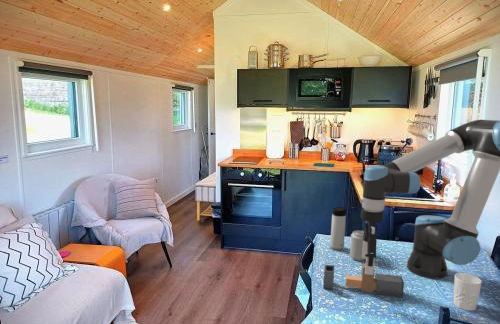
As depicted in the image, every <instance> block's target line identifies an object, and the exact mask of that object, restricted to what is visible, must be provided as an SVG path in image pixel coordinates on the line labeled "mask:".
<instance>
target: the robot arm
mask: <svg viewBox="0 0 500 324" xmlns="http://www.w3.org/2000/svg"><path fill="white" fill-rule="evenodd" d="M470 150H471V153H472V154H473V156H474V159H473V161H472V164H471V167H470V169H469V171H468V174H467V176H466V179H465V181H464V184H463V187H462V189H461V191H460V194H459V196H458V198H457V201H456V204H455V205H454V208H453V211H452V212H451V215H450V217H448V218H447V217H444V216H440V215H418V216H417V217H416V218H415V223H414V234H413V245H412V247H413V248H412V251H411V253H410V255H409V257H408V258H407V261H406V268H407V269H408V270H409V272H412V274H415V275H417V276H421V277H423V278H428V279H429V278H430V279H443V278H445V277H447V276H448V265H447V261H448V262H451V264H454V265H457V266H464V265H468V264H470V263H472V262H474V261H475V260H476V259H477V258H478V256H479V254H480V252H481V244H480V242H479V240H478V236H479V233H480V232H479V230H478V229H477V225H478V223H479V221H480V218H481V216H482V214H483V211H484V208H485V206H486V204H487V202H488V199H489V197H490V195H491V193H492V190H493V187H494V185H495V182H496V180H497V178H498V175H499V174H500V120H498V119H495V120H493V119H476V120H472V121H469V122H466V123H463V124H461V125H458V126H457V127H455V128H452V129H450V130H448V131H447V132H446V133H445V135H444V136H442V137H440V138H437V139H435V140H434V141H431V142H430V143H427V144H426V145H423V146H421V147H419V148H417V149H414V150H412V151H411V152H409V153H406V154H405V155H402V156H400V157H398V158H396V159H394V160H392V161H390V162H387V163H385V164H375V165H372V164H371V165H368V166H366V167H365V170H364V176H363V189H362V198H361V199H360V202H361V211H360V219H361V220H363V222H365V223H364V229H363V231H364V234H363V240H364V241H363V251H362V258H364V259H365V264H366V267H365V274H369V275H373V273H374V268H375V261H376V259H377V240H378V239H377V236H378V226H377V223H380V224H381V223H382V222H383V220H384V212H385V211H384V210H385V206H386V205H385V203H386V194H406V195H408V194H416V193H418V192H419V190H420V188H421V177H420V176H419V174H417V171H419V170H423V168H425V167H426V168H427V166H430V165H432V164H434V163H436V162H438V161H440V160H442V159H444V158H446V157H449V156H451V155H453V154H455V153H456V154H462V153H464V152H467V151H470ZM374 274H375V273H374Z"/></svg>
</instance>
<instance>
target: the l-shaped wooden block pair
mask: <svg viewBox="0 0 500 324" xmlns="http://www.w3.org/2000/svg"><path fill="white" fill-rule="evenodd" d="M365 267H366V262H365V263H364V262H363V263H361V273H360V274H361V275H360V276H357V275H356V276H355V275H349V274H348V275H347V274H346V275H345V287H347V288H355V289H360V290H361V292H366V293H374V291H375V290H376V285H377V279H375V273H376V272H375V271H376V269H375V267H374V273H373V275H369V274H365Z"/></svg>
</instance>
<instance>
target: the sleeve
mask: <svg viewBox="0 0 500 324" xmlns="http://www.w3.org/2000/svg"><path fill="white" fill-rule="evenodd" d="M374 279H377V285H376V290H374V292H375V295H376V296H381V297H391V298H396V299H397V298H398V299H403V297H404V291H405V290H404V287H405V282H404V279H403V277H402V275H394V274H393V275H392V274H386V273H385V274H384V273H377V272H375V273H374Z"/></svg>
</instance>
